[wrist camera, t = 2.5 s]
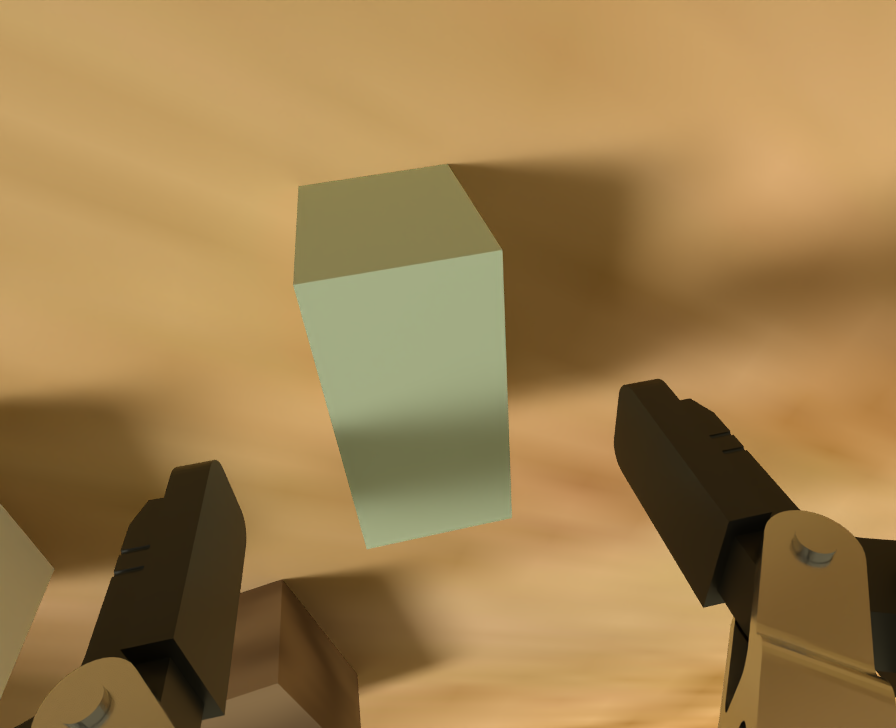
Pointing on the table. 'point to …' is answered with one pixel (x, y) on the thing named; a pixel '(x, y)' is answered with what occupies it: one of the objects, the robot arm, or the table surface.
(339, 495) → the table surface
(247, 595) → the walnut brick
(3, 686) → the cream brick
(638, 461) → the robot arm
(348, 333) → the sage brick
